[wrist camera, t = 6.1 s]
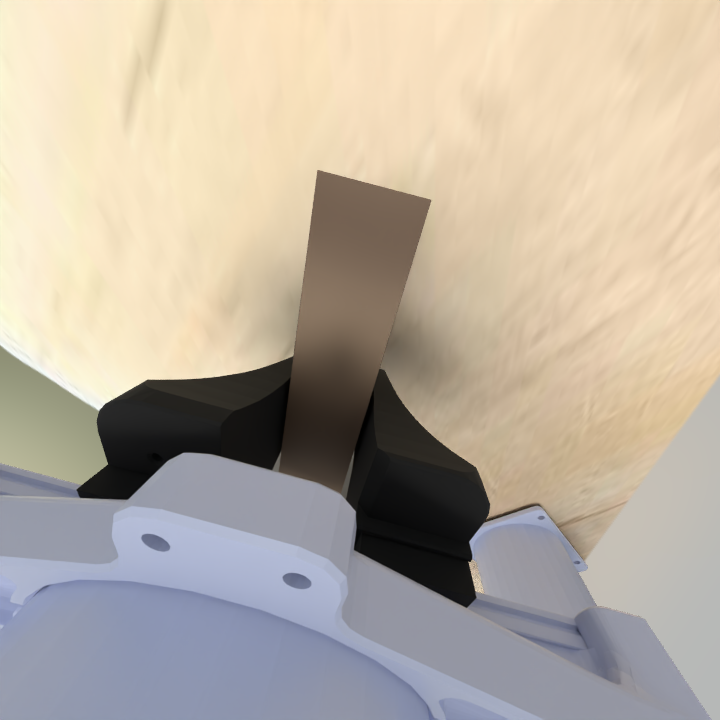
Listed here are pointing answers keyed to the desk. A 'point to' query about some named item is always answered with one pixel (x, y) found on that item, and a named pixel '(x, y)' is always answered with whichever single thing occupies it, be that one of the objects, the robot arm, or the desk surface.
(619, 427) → the desk surface
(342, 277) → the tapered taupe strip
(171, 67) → the desk surface
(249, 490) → the robot arm
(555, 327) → the desk surface
